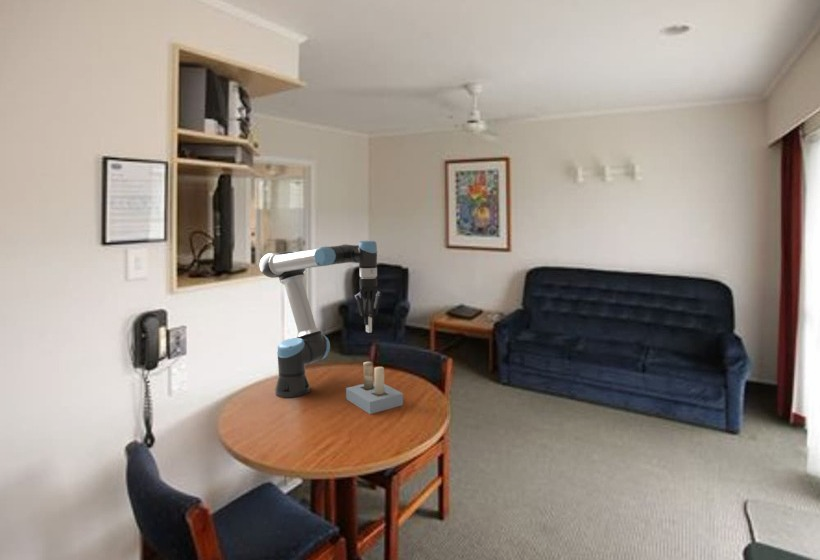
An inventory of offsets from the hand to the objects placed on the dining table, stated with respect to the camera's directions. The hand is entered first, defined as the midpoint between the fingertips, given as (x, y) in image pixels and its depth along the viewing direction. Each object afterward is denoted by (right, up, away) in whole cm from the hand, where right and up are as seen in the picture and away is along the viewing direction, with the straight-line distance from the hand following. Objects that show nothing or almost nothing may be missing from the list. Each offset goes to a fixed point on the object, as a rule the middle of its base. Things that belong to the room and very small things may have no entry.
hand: (368, 331), depth 207 cm
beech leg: (0, -29, +1) cm, 29 cm away
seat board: (+3, -29, -3) cm, 30 cm away
